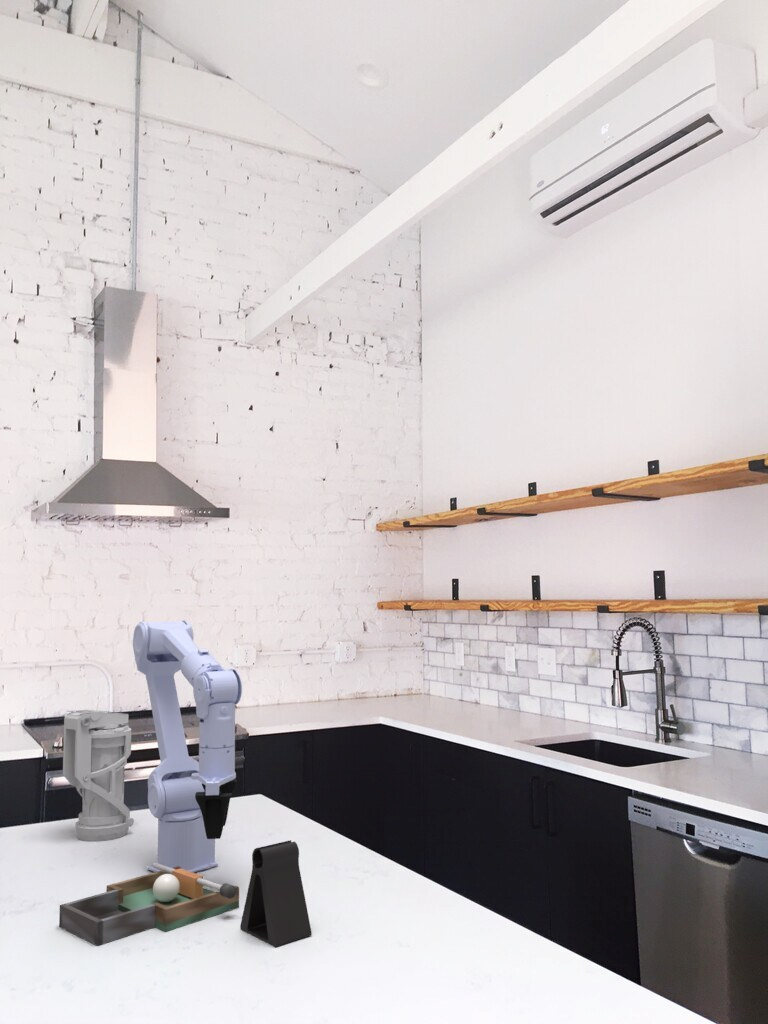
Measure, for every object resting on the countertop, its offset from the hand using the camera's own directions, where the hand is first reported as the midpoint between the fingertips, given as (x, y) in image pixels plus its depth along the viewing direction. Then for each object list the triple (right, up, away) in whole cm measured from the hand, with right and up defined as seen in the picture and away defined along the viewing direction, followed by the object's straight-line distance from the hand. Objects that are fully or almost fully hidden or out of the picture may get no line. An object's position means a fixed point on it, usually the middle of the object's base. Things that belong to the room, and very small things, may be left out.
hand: (216, 832), depth 141 cm
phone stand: (+12, -8, -18) cm, 23 cm away
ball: (-6, -6, -8) cm, 11 cm away
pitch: (-8, -9, -10) cm, 16 cm away
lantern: (-30, -13, +34) cm, 47 cm away
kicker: (-3, -8, -6) cm, 10 cm away
